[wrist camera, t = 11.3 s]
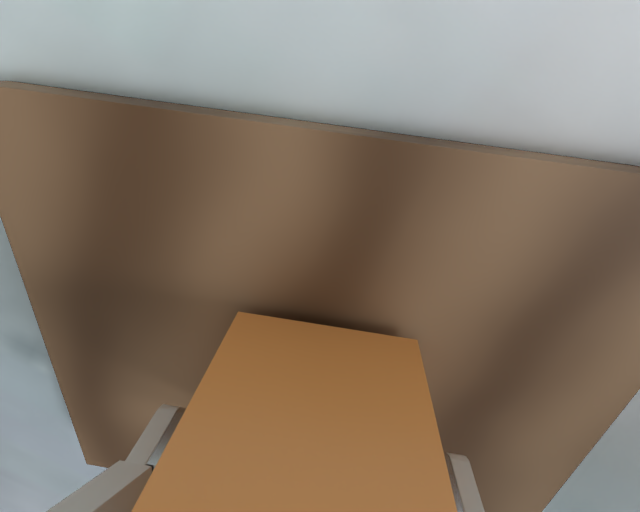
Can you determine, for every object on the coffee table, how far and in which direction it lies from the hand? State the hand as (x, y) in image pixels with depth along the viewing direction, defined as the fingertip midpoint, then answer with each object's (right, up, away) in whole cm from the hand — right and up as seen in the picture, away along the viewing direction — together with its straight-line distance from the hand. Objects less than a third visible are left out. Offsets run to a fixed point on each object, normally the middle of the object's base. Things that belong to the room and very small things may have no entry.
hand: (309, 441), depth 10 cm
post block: (0, +2, +3) cm, 4 cm away
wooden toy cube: (0, +1, +2) cm, 2 cm away
